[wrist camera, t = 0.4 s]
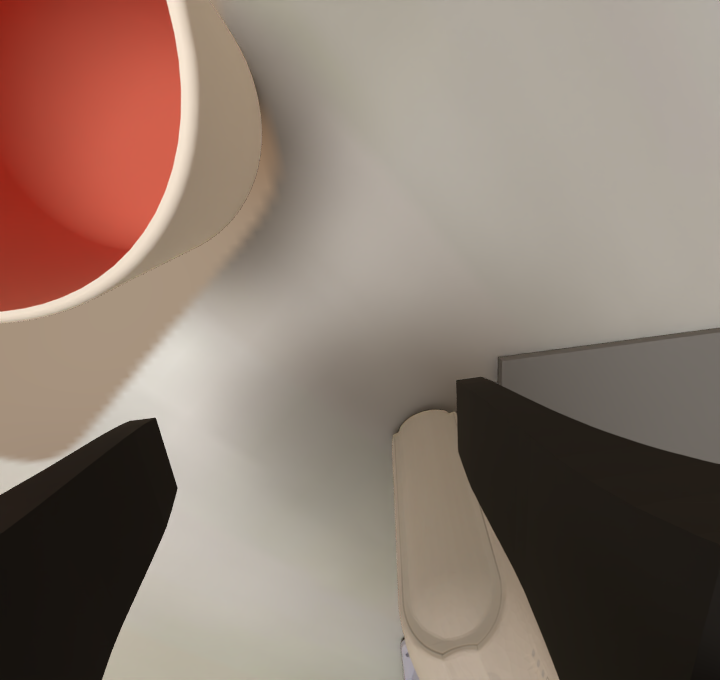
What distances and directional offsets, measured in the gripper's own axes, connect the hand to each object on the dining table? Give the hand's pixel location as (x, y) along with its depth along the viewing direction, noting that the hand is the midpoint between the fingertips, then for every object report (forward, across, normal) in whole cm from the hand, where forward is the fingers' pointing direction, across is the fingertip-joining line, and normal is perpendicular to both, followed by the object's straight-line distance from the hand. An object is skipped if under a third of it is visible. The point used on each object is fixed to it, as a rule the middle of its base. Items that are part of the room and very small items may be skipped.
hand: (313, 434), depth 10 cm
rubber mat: (+10, -15, +11) cm, 22 cm away
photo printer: (+10, -6, +10) cm, 16 cm away
